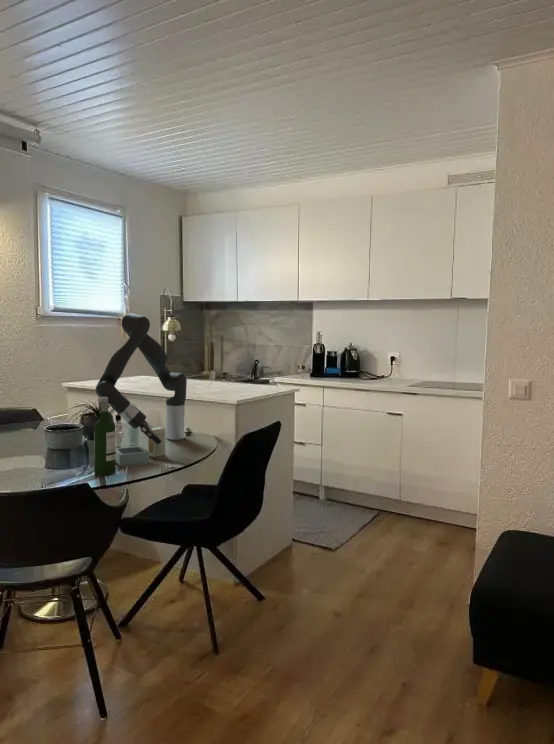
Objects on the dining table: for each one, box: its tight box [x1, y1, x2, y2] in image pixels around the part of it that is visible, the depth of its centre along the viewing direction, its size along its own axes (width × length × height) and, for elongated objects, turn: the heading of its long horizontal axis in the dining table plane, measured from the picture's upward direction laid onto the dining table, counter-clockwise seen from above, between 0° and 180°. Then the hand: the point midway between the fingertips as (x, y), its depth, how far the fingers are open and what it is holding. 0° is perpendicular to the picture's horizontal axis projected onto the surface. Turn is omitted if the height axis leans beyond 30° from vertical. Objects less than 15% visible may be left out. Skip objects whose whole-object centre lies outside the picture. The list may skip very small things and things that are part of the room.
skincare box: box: [147, 426, 166, 458], centre depth 239 cm, size 6×4×12 cm
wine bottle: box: [93, 397, 117, 477], centre depth 209 cm, size 8×8×30 cm
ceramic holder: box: [115, 445, 150, 468], centre depth 227 cm, size 12×12×5 cm
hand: (159, 440), depth 239 cm, fingers open, 8 cm apart
